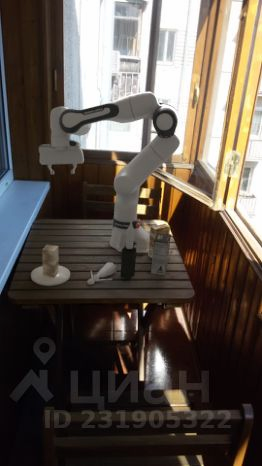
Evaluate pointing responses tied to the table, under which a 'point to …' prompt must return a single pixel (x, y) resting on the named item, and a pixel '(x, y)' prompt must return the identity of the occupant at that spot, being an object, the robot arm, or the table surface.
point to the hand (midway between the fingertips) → (62, 174)
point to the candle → (128, 255)
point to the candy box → (153, 231)
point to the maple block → (50, 260)
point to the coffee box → (160, 253)
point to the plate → (50, 281)
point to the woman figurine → (103, 273)
